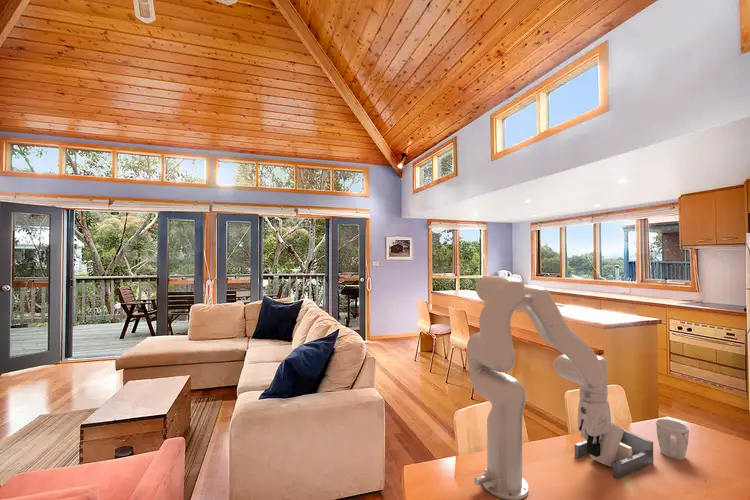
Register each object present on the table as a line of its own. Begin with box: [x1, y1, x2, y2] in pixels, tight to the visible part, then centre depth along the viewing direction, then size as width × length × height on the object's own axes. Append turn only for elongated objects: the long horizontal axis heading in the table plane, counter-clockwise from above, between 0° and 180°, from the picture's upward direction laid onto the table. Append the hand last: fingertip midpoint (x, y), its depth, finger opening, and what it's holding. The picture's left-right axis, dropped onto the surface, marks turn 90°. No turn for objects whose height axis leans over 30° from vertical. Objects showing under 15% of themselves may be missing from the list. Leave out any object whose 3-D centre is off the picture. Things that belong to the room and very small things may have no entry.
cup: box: [589, 422, 626, 468], centre depth 112 cm, size 8×8×12 cm
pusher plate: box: [614, 442, 632, 463], centre depth 114 cm, size 2×10×6 cm, turn 25°
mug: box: [655, 418, 690, 460], centre depth 116 cm, size 11×8×10 cm
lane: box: [574, 429, 655, 480], centre depth 114 cm, size 19×13×7 cm
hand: (593, 454), depth 110 cm, fingers closed
